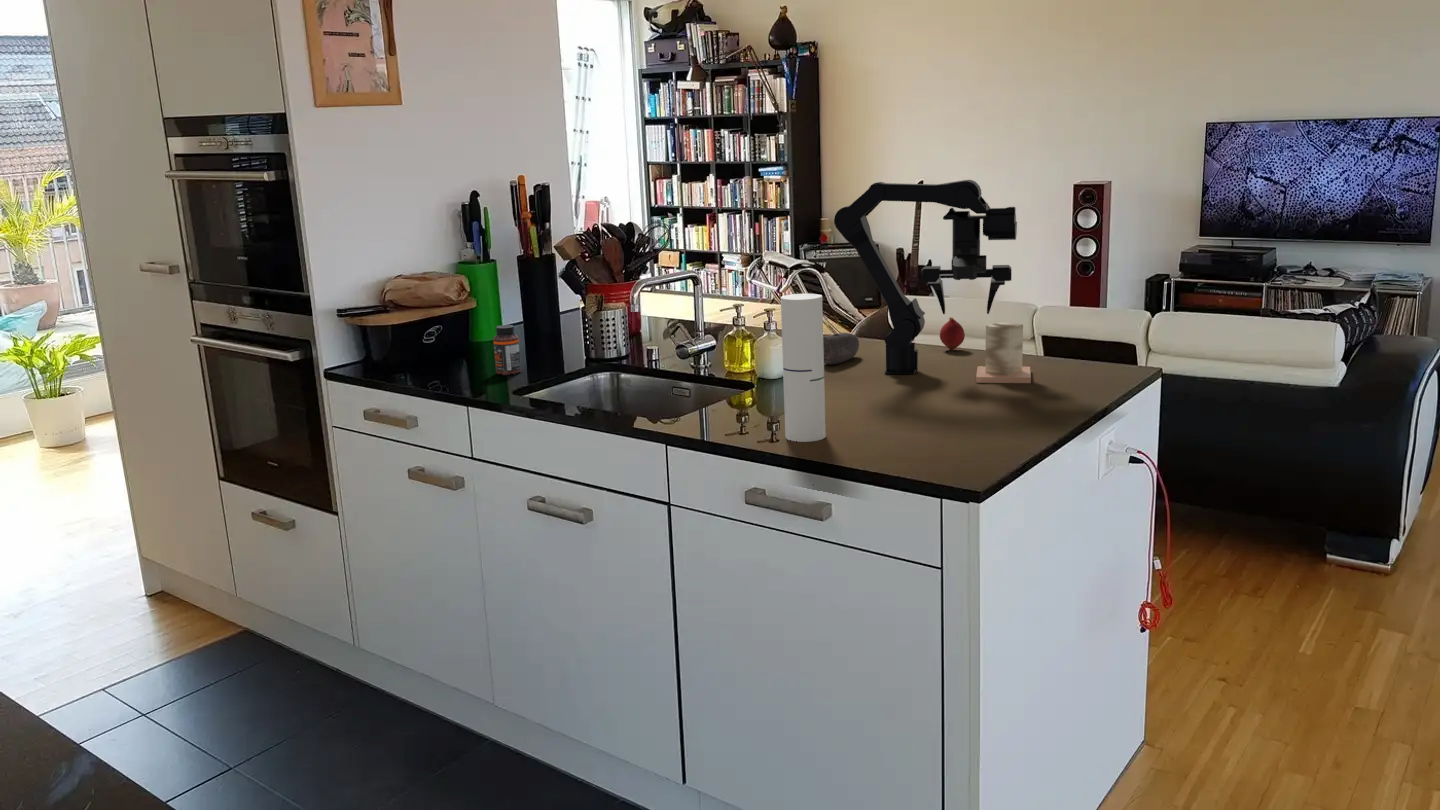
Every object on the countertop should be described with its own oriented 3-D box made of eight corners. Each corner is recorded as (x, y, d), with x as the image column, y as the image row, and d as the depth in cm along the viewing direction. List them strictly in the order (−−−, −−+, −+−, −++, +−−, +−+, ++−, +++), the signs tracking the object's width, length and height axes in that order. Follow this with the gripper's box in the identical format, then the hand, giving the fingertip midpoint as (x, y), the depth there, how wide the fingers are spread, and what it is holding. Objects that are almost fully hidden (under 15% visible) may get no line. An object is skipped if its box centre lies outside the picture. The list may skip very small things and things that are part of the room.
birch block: (985, 372, 238) (985, 325, 235) (999, 368, 242) (1000, 322, 239) (1008, 375, 234) (1008, 328, 232) (1022, 371, 238) (1023, 324, 235)
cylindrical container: (782, 432, 203) (778, 295, 197) (821, 430, 203) (818, 292, 197) (788, 443, 196) (783, 300, 190) (828, 440, 196) (825, 298, 190)
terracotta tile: (976, 382, 234) (976, 377, 234) (977, 371, 245) (977, 366, 244) (1030, 383, 232) (1030, 377, 231) (1029, 371, 242) (1029, 366, 242)
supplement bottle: (491, 373, 267) (487, 326, 264) (513, 369, 271) (508, 323, 268) (504, 376, 263) (500, 329, 260) (526, 372, 267) (522, 325, 264)
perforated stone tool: (849, 355, 270) (848, 326, 268) (867, 357, 266) (867, 328, 265) (813, 366, 258) (812, 337, 257) (832, 368, 255) (831, 338, 253)
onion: (963, 347, 272) (963, 314, 270) (965, 352, 266) (966, 318, 264) (938, 348, 272) (938, 315, 270) (940, 352, 267) (941, 319, 265)
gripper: (918, 245, 232) (919, 320, 235) (1012, 243, 227) (1010, 319, 231) (922, 240, 242) (922, 311, 246) (1011, 238, 238) (1010, 311, 241)
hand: (965, 313), depth 241 cm, fingers open, 9 cm apart
